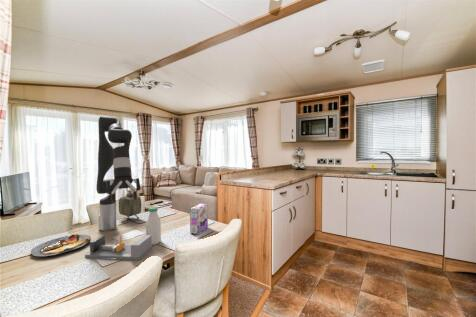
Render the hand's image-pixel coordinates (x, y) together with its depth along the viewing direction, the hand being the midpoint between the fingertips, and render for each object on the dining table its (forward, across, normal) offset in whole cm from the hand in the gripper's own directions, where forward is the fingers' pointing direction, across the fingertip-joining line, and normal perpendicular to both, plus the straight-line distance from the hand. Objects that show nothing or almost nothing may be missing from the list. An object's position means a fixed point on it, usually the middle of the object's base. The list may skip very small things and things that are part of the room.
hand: (124, 201), depth 100 cm
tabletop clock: (+9, -11, -71) cm, 72 cm away
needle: (+23, +1, -17) cm, 28 cm away
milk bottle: (+24, -16, -21) cm, 35 cm away
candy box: (+24, -45, -22) cm, 55 cm away
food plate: (+18, +26, -42) cm, 52 cm away
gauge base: (+25, +2, -18) cm, 30 cm away
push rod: (+21, +7, -21) cm, 31 cm away
